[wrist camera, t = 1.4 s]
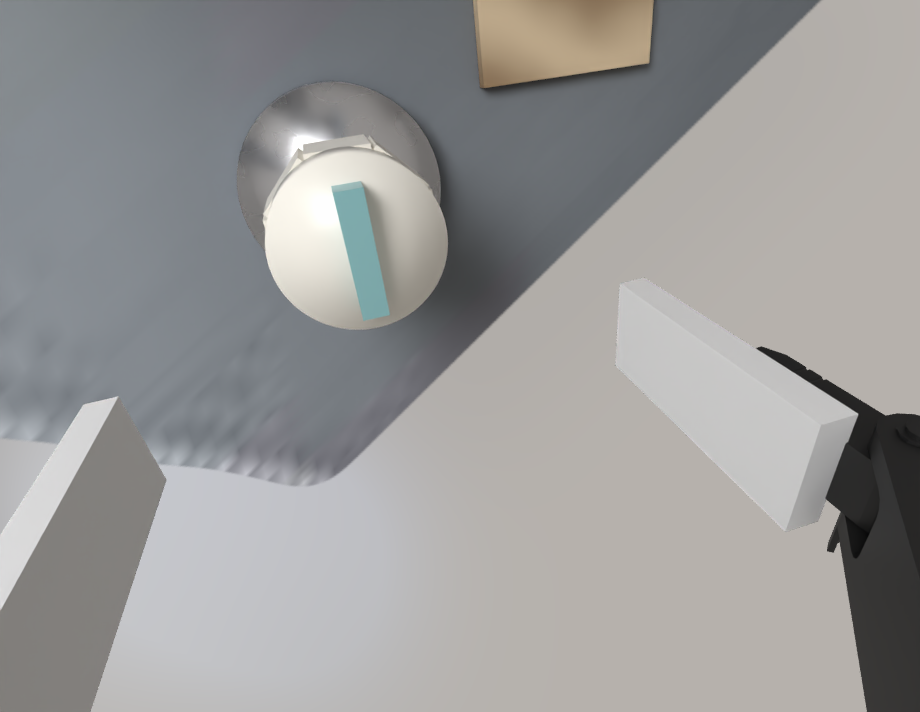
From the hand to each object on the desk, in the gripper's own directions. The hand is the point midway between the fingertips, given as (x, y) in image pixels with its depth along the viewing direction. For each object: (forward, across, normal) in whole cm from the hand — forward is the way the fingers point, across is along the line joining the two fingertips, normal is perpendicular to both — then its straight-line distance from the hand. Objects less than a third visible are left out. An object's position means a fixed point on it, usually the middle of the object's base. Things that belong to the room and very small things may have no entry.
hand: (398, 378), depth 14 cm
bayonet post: (+22, 0, 0) cm, 22 cm away
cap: (+15, 0, 0) cm, 15 cm away
